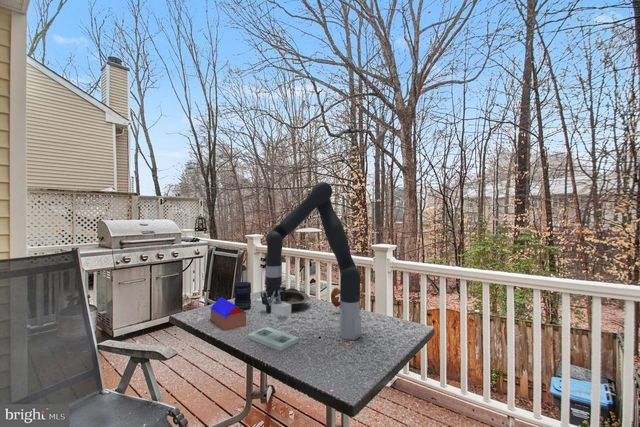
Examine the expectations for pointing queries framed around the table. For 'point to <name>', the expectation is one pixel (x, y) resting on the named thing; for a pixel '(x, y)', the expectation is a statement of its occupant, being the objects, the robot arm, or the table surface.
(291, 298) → the stone bowl
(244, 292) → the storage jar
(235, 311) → the house
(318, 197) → the robot arm
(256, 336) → the hole board
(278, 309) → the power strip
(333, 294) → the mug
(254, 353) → the table surface
